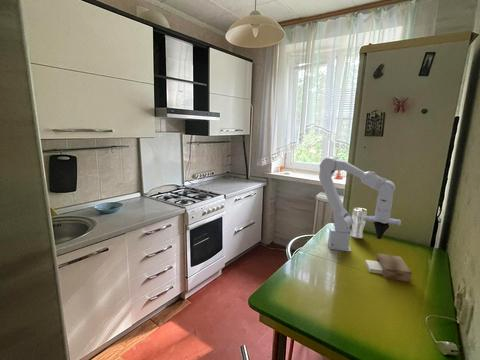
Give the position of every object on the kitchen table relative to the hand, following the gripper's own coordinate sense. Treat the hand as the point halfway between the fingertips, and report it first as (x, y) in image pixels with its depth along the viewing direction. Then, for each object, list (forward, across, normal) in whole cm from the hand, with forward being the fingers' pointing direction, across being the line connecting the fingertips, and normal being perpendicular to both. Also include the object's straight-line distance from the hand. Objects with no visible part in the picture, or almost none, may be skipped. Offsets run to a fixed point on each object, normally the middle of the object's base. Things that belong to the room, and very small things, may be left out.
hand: (378, 238), depth 110 cm
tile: (+10, 0, -10) cm, 14 cm away
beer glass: (+10, -4, +22) cm, 24 cm away
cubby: (+9, +4, -10) cm, 14 cm away
